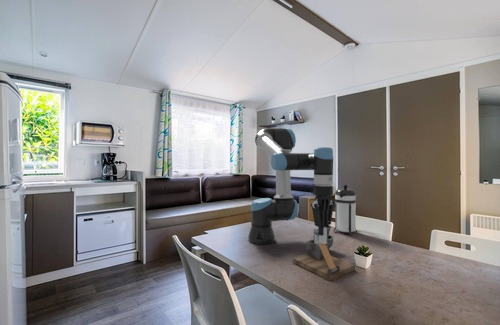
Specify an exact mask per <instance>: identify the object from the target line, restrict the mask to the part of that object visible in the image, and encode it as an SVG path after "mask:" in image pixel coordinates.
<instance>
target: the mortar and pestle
mask: <svg viewBox="0 0 500 325" xmlns="http://www.w3.org/2000/svg"><path fill="white" fill-rule="evenodd" d="M329 226H330V227H327V243H328V251H329V252H330V248H332V245H333V244H334V236H332V235H330V231H331V229H332V226H331V225H329ZM312 237H313V239H314V234H313V236H312Z"/></svg>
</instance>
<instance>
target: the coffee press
mask: <svg viewBox="0 0 500 325" xmlns="http://www.w3.org/2000/svg"><path fill="white" fill-rule="evenodd" d="M334 195H335V196H334V197H335V198H334V201H335V205H334V210H335V211H334V212H335V215H334V217H335V218H334V226H335V227H334V228H333V232H334V233H337V232H343V233H348V234H347V235H348V236H353V232H355V233H357V232H358V231H357V228H356V227H357V226H356V225H357V224H356V214H357V213H356V212H357V211H356V209H357V208H356V207H357V206H356V205H357V198H356V197H357V193H356V191H355V190H354V189H351V188H348V185H347V184H344V185H343V188H338V189H336V190H335V192H334Z"/></svg>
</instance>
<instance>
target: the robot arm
mask: <svg viewBox="0 0 500 325" xmlns="http://www.w3.org/2000/svg"><path fill="white" fill-rule="evenodd" d="M254 142H255V145H256V146H257V148H258V149H260V150H263V151H264V153H265V154H266V155H267V156H268V157H269V159H270V166H271V169H272V170H273V171H275V195H274V196H273V200H272V198H270V197H262V198H257V199H254V200H253V201H252V202H251V206H250V210H251V211H250V212H251V216H250V218H251V220H250V221H251V226H250V229H249V234H248V236H247V241H248V242H249V241H250V243H252V244H255V245H269V244H273V243H275V241H276V240H275V239H276V238H275V236H276V235H275V232H274V230H273V227H272V224H273V222H281V221H286V222H287V221H291V220H294V219H295V218H296V217H297V216H298V212H299V205H298V201H297V200H296V199H295V198H294V196H293V195H292V188H291V185H292V184H291V171H313V184H314V186H313V195H315V198H314V202H311V203H310V207H311V210H312V216H313V221H314V222H313V223H314V226H315V227H318V229H319V242H320V243H323V244H327V227H330V226H331V225H332V220H333V213H334V208H335V200H332V197H331V196H333V195H334V187H333V185H334V180H333V179H334V178H333V176H334V151H333V150H334V149H333V148H332V147H324V146H323V147H315V148H314V149H313V152H312V153H311V152H310V153H309V152H307V153H306V152H304V153H303V152H301V153H300V152H299V153H298V152H296V153H295V152H294V153H293V149H294V148H295V146H296V143H297V141H296V134H295V132H294V131H293V130H292V129H290V128H279V127H278V128H277V127H275V128H271V127H265V128H263V129H261V130H259V131H258V132H257V133H256V135H255V138H254Z"/></svg>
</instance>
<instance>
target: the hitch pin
mask: <svg viewBox="0 0 500 325" xmlns="http://www.w3.org/2000/svg"><path fill="white" fill-rule="evenodd" d="M313 235H314V238H313V240H314V244H317V245H319V244H321V243H320V242H319V227H318V228H313Z"/></svg>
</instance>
